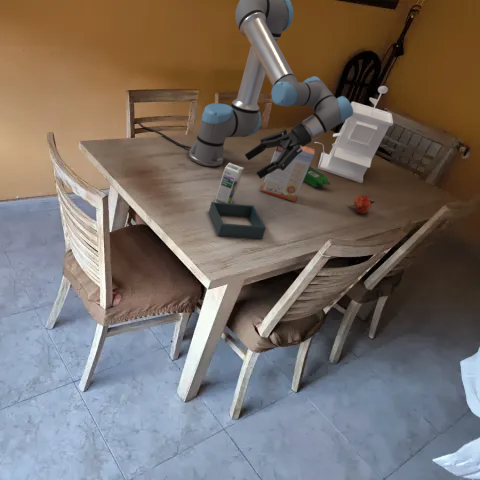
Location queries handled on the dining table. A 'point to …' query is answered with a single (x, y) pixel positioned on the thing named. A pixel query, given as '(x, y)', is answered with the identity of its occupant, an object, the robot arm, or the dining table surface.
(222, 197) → the syrup box
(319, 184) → the snack package
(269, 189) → the cracker box
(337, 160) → the white toy machine
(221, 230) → the bin
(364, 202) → the pomegranate
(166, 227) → the dining table surface
